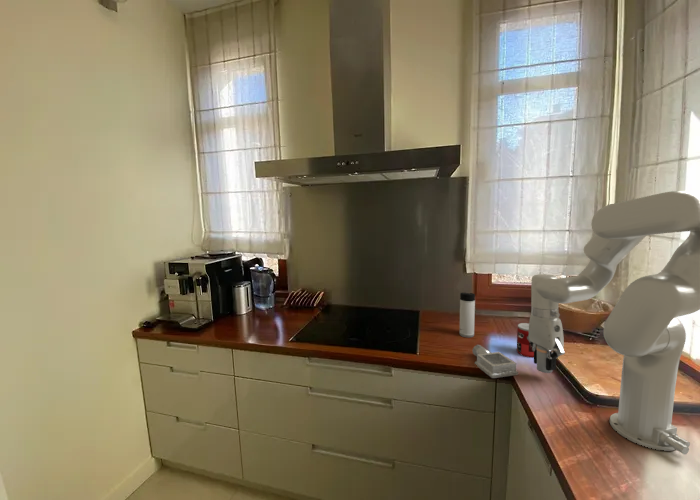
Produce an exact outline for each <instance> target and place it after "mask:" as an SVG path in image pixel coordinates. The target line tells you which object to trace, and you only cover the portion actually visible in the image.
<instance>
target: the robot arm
mask: <svg viewBox="0 0 700 500" xmlns="http://www.w3.org/2000/svg"><path fill="white" fill-rule="evenodd" d="M590 223H591V224H590V226H591V229H592V232H593V233H594V235H593V236H592V237H591V238H590V240H589V241H588V242H587V243H586V244H585V245H584V247H583V253H584V254H585V256H586V257H587V258H588V259H589V262H588V263H587V265H586V266H585V268H584V269H583V270H581V272H579V274H578V275H576V276H568V277H559V278H558V277H557V276H556V275H554V274H547V273H545V274H544V273H543V274H542V273H541V274H540V273H539V274H534V275H533V276H532V277H531V283H530V284H531V287H530V288H531V289H530V291H531V294H530V295H531V297H530V298H531V300H530V301H531V302H530V303H531V307H530V308H531V313H530V316H529V321H528V322H529V335H528V337H527V339H528V341H529V342H530V344H531V346H532V350H533V351H534V358H533V363H534V364H535V365H537V350H536V347H537V345H539V346H541V347H543V348H546V351H547V356H548V358H546V370H548V371H549V370H552V371H555V370H556V369H557V359H558V358H559V357H560V356H563V355H565V354H566V352H565V350H564V347H565V342H564V340H565V339H564V331H563V330H564V329H563V324H562V321H561V318H560V316H561V313H559V305H560V304H572V303H575V302H582V301H588V300H591V299H592V298H595V296H597V295H598V294H599V293H601V291H602V290H604V288H606V287H607V286H608V285H609V284H610V282H611V281H612V280H613V278H614V276H615V274H616V271H617V267H618V265H619V263H621V261H622V260H624V258H626V257H627V255H628V254H630V253H631V252H632V251H633V250H634V249H635V247H636V246H637V245H638V244H640V243H641V242H642V240H644V239H645V238H646V237H647V236H656V235H661V234H662V235H663V234H672V233H683V232H689V234H688V236H687V237H686V239H685V240H684V241H683V242H682V243H681V244H680V245H679V246H678V247H677V248H676V249H675V250H674V252H673V254H672V255H671V257H670V259H669V261H668V262H667V264H666V265H665V266H664V268H663V269H662V270H661V271H660V272H658V273H656V274H650V275H645V276H641V277H639V278H637V279H635V280H633V281H632V282H631V283H630V284H629V285H628V286H627V287H626V288H625V289H624V290H623V292H622V294H621V295H620V297H619V299H618V300H617V302H616V303H615V305H614V307H613V309H612V310H611V312H610V313H609V315H608V317H607V318H606V320H605V323H604V326H603V337H604V340H605V343H607V345H608V346H609V348H611V349H612V350H613V352H615V353H618V354H620V355H622V356H623V359H622V368H621V376H620V377H621V379H620V388H619V402H618V412H615V413H612V414H611V415H610V416H609V423H610V426H611V427H612V428H613V430H614V431H615V432H616V431H617V432H616V433H618V435H620V436H622V437H623V438H625V439H626V438H627V440H628V441H630V442H632V443H634V444H636V443H637V444H636V445H639V446H641V445H642V447H644V446H645V447H644V448H647V447H648V448H647V449H651V448H652V450H655V449H656V450H655V451H660V450H664V451H665V452H671V451H675V449H676V451H678V452H679V453H681V454H682V455H687V454H688V453H689V452H690V449H689V447H690V445H691V442H689V440H686V439H685V438H683V437H680V436H679V435H678V434H677V430H678V427H677V426H675V425H673V424H672V422H673V413H674V412H673V410H674V404H675V403H674V401H675V392H676V386H677V385H676V383H677V381H678V379H677V378H678V371H679V365H680V360H681V356H682V353H683V350H684V348H685V343H686V338H687V333H686V329H685V326H684V324H683V323H682V321H680V319H679V317H681V316H685V315H686V316H687V315H690V314H693V313H695V312H696V313H697V312H698V311H700V190H672V191H665V192H660V193H656V194H652V195H647V196H643V197H642V196H641V197H638V198H634V199H629V200H625V201H620V202H615V203H614V202H613V203H611V204H607V205H604V206H603V207H601V208H600V209H598V210H597V211H596V212H595V213H594V215H593V216H592V219H591V222H590ZM551 351H553V353H552V354H551ZM664 451H663V452H664Z"/></svg>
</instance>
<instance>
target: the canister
mask: <svg viewBox="0 0 700 500" xmlns="http://www.w3.org/2000/svg"><path fill="white" fill-rule="evenodd" d="M536 350H537V364H536V369H537V371H538V372H542V373H546V374H551V373H552V372H553V370H549V371H548V370H546V358H548V356H547V351H546V348H543V347H541V346H539V345H537V347H536ZM552 353H553V351H551V354H552Z"/></svg>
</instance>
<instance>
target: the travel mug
mask: <svg viewBox="0 0 700 500" xmlns="http://www.w3.org/2000/svg"><path fill="white" fill-rule="evenodd" d="M475 311H476V294H475V293H473V292H470V293H467V292H460V293H459V335H460V336H461V337H463V338H466V339H467V338H473V337H474V336H475V314H476V313H475Z"/></svg>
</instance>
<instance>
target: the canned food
mask: <svg viewBox="0 0 700 500" xmlns="http://www.w3.org/2000/svg"><path fill="white" fill-rule="evenodd" d="M516 328H517V330H516V335H517V336H516V351H517V353H518V354H519V355H521V356H523V357H526V358H533V359H534V351H533V350H532V346H531V344H530V342H529V341H528V339H527V337H528V335H529V323H527V322H521V323H517V327H516Z"/></svg>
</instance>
